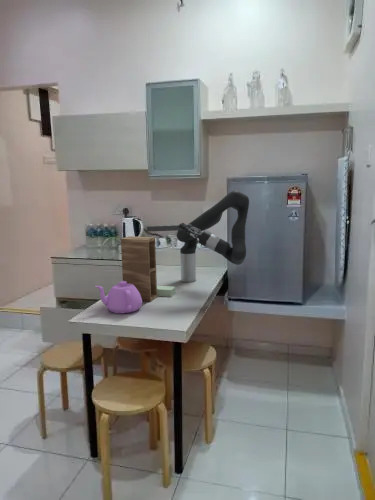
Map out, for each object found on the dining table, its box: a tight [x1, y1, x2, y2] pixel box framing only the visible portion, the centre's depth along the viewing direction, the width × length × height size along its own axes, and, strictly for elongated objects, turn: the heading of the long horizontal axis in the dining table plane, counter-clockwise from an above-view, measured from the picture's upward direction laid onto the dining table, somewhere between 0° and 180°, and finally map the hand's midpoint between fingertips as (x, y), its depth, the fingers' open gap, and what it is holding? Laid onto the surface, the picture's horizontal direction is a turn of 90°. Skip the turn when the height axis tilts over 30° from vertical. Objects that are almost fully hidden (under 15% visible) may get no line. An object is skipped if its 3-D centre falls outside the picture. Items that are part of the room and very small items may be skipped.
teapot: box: [95, 280, 143, 314], centre depth 185 cm, size 22×22×14 cm
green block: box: [157, 285, 176, 298], centre depth 211 cm, size 7×16×4 cm, turn 71°
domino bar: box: [146, 223, 192, 233], centre depth 203 cm, size 3×24×3 cm, turn 73°
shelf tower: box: [120, 235, 158, 303], centre depth 201 cm, size 9×15×32 cm, turn 71°
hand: (180, 224), depth 201 cm, fingers closed on domino bar, 2 cm apart
